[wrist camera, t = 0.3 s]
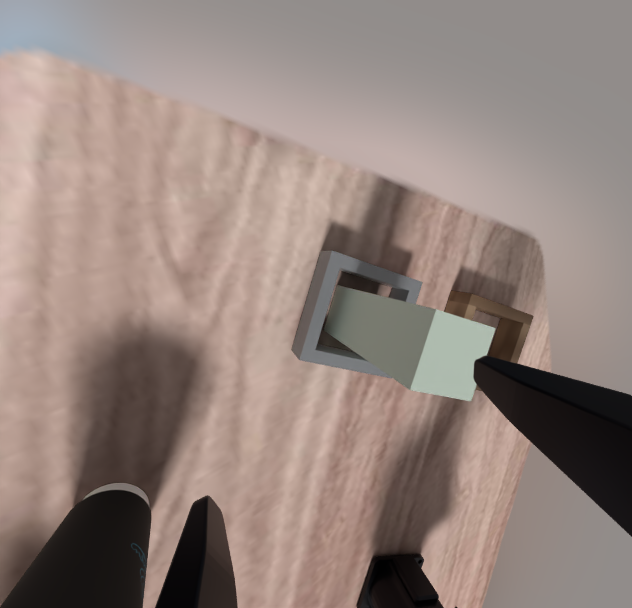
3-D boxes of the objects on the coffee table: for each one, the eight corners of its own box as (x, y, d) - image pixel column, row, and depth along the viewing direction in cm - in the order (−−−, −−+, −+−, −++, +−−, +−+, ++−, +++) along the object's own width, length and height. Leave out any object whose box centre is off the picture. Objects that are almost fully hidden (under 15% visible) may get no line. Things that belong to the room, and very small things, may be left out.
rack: (484, 385, 32) (505, 395, 30) (424, 372, 29) (442, 382, 27) (510, 311, 32) (533, 315, 30) (451, 290, 29) (471, 293, 27)
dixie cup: (193, 508, 24) (177, 698, 14) (100, 579, 23) (4, 851, 12) (127, 442, 22) (47, 611, 11) (18, 516, 20) (-187, 788, 10)
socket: (376, 367, 28) (391, 378, 25) (291, 350, 25) (299, 360, 22) (404, 279, 27) (422, 282, 25) (320, 250, 24) (332, 250, 22)
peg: (363, 339, 27) (470, 401, 15) (323, 330, 25) (410, 390, 14) (376, 297, 26) (495, 328, 15) (336, 284, 25) (436, 309, 14)
